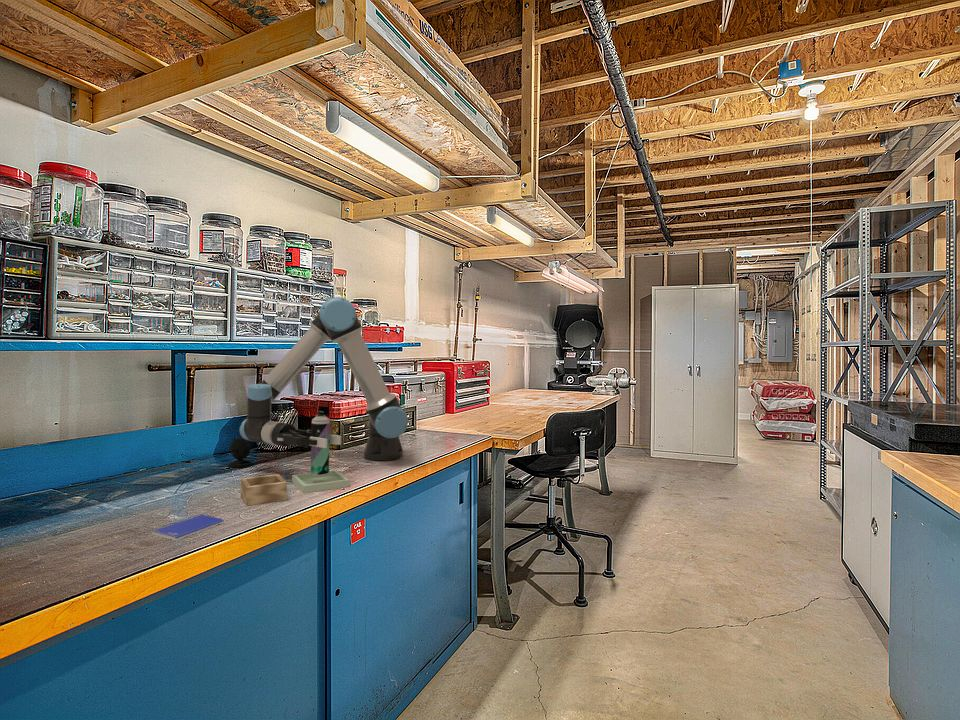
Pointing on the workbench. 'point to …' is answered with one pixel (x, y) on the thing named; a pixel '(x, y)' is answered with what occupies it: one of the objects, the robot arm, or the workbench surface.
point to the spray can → (317, 453)
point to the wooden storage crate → (263, 489)
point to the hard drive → (187, 527)
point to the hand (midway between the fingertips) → (333, 441)
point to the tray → (320, 481)
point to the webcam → (240, 453)
